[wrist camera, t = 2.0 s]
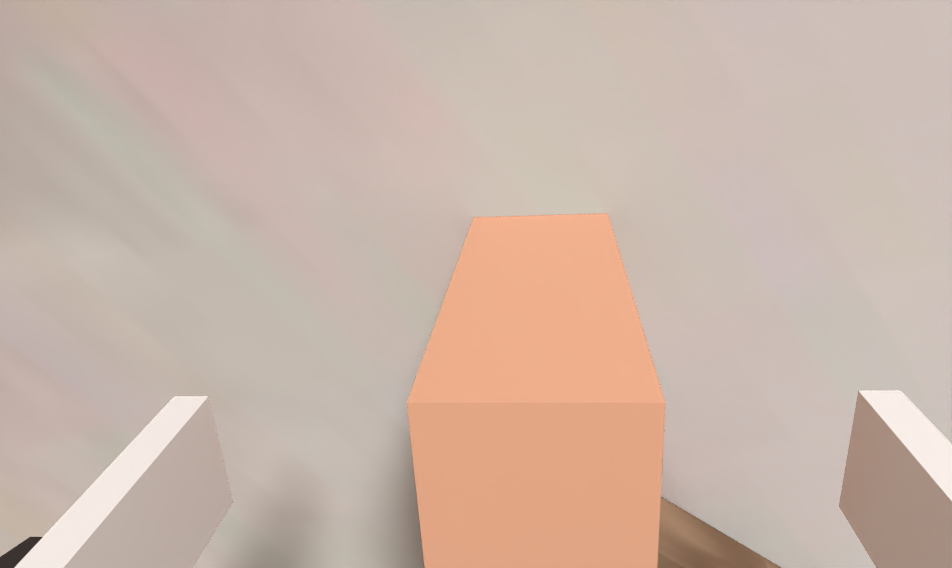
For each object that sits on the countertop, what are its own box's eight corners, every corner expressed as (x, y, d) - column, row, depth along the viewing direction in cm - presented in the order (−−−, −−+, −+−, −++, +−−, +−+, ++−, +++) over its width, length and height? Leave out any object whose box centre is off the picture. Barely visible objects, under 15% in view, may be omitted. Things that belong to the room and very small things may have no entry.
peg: (607, 213, 23) (665, 402, 12) (606, 335, 24) (655, 603, 13) (473, 217, 23) (406, 402, 12) (480, 336, 25) (427, 596, 14)
